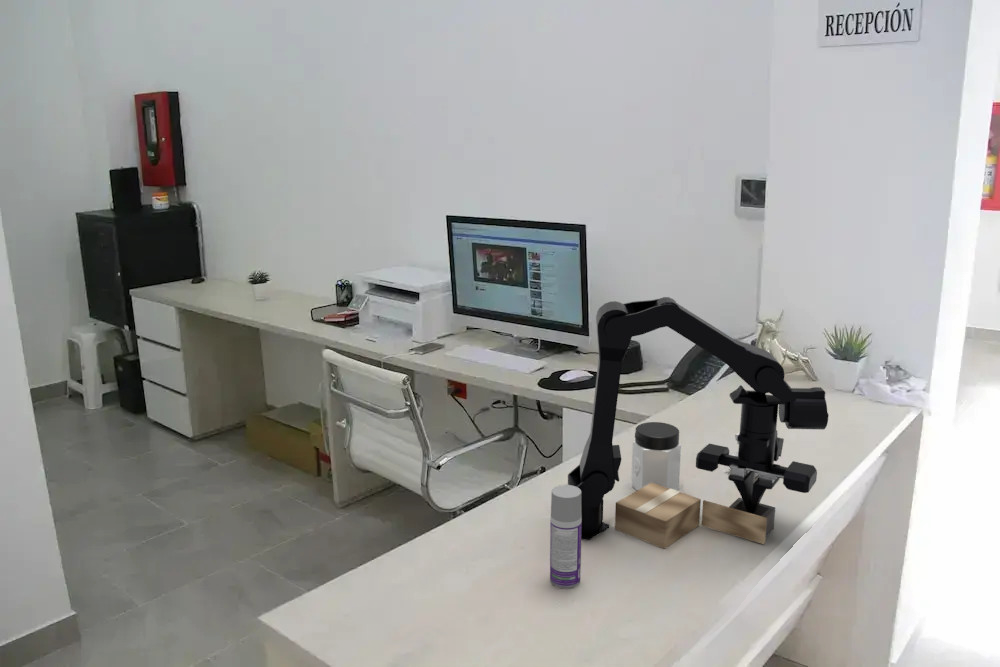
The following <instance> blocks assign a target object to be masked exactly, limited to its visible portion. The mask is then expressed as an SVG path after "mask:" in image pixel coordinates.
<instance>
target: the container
mask: <svg viewBox="0 0 1000 667" xmlns="http://www.w3.org/2000/svg"><path fill="white" fill-rule="evenodd" d="M550 498H551V499H550V502H551V503H550V533H549V534H550V539H549V540H550V542H549V544H550V546H549V547H550V549H549V555H550V557H549V562H550V563H549V564H550V565H549V578H550V579H549V581H550V583H551V585H553V587H557V588H558V589H565V590H568V589H574V588H576V587H578V586H579V585H580V583H581V572H582V571H581V570H582V569H581V566H582V538H581V528H582V512H581V490H580V489H579V488H578V487H576V486H572V485H568V484H561V485H557V486H554V487H552V488H551V496H550Z"/></svg>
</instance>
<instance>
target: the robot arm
mask: <svg viewBox="0 0 1000 667" xmlns="http://www.w3.org/2000/svg"><path fill="white" fill-rule="evenodd" d="M595 320H596V321H595V323H596V324H595V325H596V335H597V347H598V348H597V349H598V351H597V352H598V361H597V369H596V380H595V390H594V395H593V396H594V399H593V408H592V415H591V423H590V431H589V435H588V438H587V440H586V443H585V445H584V449H583V451H582V455H581V457H580V461H579V464H578V465H577V466H576V467H575V468H573V469H572V470H571V471H570V472H569V473H568V474H567V485H572V486H576V487H578V488H579V489H580V490H581V512H582V528H581V540H584V541H589V540H592V539H594V538H595V537H597V536H598V535H600V534H602V533H603V532H605V531H606V530H608V529H609V528H610V524H609V523H606V522H604V521H603V520H604V497H605V495H607V494H608V493H609V492H611V491H613V489H614V487H615V484H616V481H617V482H620V476H619V470H620V467H621V463H622V454H621V447H620V444H613V438H614V432H615V424H616V423H615V422H616V413H617V405H618V397H619V396H618V395H619V390H620V381H621V380H620V379H621V373H622V372H621V371H622V365H623V361H624V359H625V357H626V354H627V353H628V350H629V347H630V343H631V341H632V337H637V336H643V335H645V334H647V333H651V332H653V331H656V330H658V329H661V328H666V327H667V328H669V329H671V330H672V331H674V332H676V333H677V334H679V335H680V336H682V337H683V338H685V339H687V340H688V341H690V342H692V343H694V344H695V345H696V346H698V347H699V348H701V349H703V350H705V352H708V353H709V354H711V355H712V356H714V357H716V358H717V359H719V360H720V361H722V362H724V363H725V365H727V366H728V367H729V368H730V369H731V370H732V371H734V373H735V374H736V375H738V376H739V377H740V378H741V380H742V381H743V382H745V383H746V384H747V385H748V386H749V387H750V388H752V390H747V389H745V388H744V386H743V385H741V384H740V385H739V386H738V388H736V389H735V390H732V391H731V392H730V393H729V397H730V399H731V401H732V402H733V404H735V405H741V409H740V423H739V424H740V425H739V432H740V434H739V435H738V440H737V441H738V442H739V445H738V449H737V450H738V451H737V452H738V457H737V456H732V455H731V454H730V449H729V447H728V446H722V445H718V444H714V443H708V444H707V445H705V446H704V447H703V448H702V449H700V451H699V452H698V453H697V454H696V457H695V467H696V468H697V469H698V470H703V471H707V472H710V473H711V472H712V473H713V472H714V471H716V470H717V469H718V468H719V465H720V466H726V467H728V468H729V469H730V468H731V469H730V471H729V472H730V474H729V475H728V476H727V477H728V478H727V479H728V480H729V481H731V482H733V483H734V486H735V487H736V489H737V491H738V492H739V494H740V498H742V499H743V502H744V504H745V507H746V509H747V512H748V513H752V514H754V513H755V511H756V509H757V507H758V505H759V503H761V500H762V498H763V496H764V494H765V492H766V491H767V490H772V489H773V488H774V487H775V485H776V484H778V483H779V481H780V479H782V481H783V482H782V485H783V486H784V487H785V488H786V489H787V490H789V491H794V492H798V493H803V494H807V493H809V492H810V491H811V489H812V488H813V487H814V486H815V484H816V482H817V477H818V471H817V468H816V467H815V466H814V465H812V464H808V463H803V462H798V461H794V460H793V461H792V462H791V463H790V464H789V465H788V467H787V466H781V465H780V464H776V463H774V462H778V461H779V457H782V453H783V447H784V441H785V439H784V438H783V437H779V436H778V430H777V426H778V424H777V423H778V417H779V422H780V423H783V424H784V423H785V424H784V425H785V426H786V428H787V429H788V430H825V429H826V428H827V425H828V423H829V422H828V421H829V416H830V415H829V413H828V406H827V400H826V391H825V390H824V389H823V388H822V387H817V386H816V387H814V386H813V387H809V388H803V387H802V388H801V387H800V388H799V387H796V388H795V387H791V386H790V384H788V383H787V381H786V380H785V369H784V367H783V366H782V364H780V362H779V361H778V360H777V359H776V357H775V356H774V355H773V354H772V353H771V352H770V351H767V350H765V349H763V348H760V347H758V346H755V345H753V344H751V343H747V342H742V341H740V340H737V339H735V338H733V337H731V336H730V335H728V334H726V333H725V332H723V331H722V330H720V329H718V328H717V327H715V326H714V325H712V324H711V323H709V322H708V321H706V320H705V319H702V318H701V317H700V316H697V315H696V314H694V313H693V312H692V311H690V310H688V309H687V308H685V307H684V306H682V305H680V304H679V303H677V302H676V300H675V299H673V298H671V297H670V296H663V297H660V298H656V299H650V300H639V301H638V300H637V301H629V302H625V303H622V302H620V301H609V302H606V303H603V304H602V305H601V306H600V307H599V308H598V310H597V311H596V316H595ZM737 441H736V442H737ZM755 472H756V473H758V476H757V477H758V478H757V479H755V477H754V474H755ZM754 479H755V480H754Z"/></svg>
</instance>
